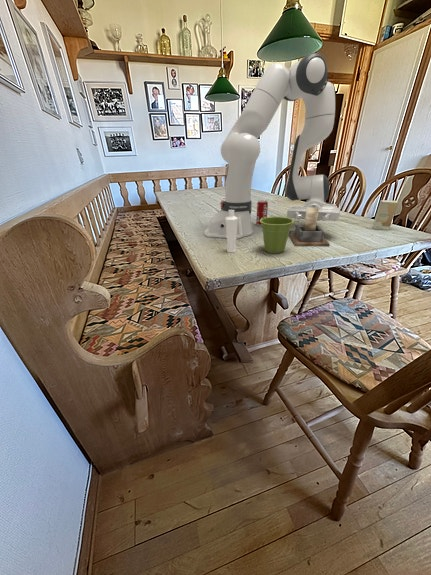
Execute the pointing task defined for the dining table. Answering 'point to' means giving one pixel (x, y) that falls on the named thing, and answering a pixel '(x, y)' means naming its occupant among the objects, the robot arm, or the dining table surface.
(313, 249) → the dining table surface
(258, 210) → the soda can
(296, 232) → the bottle holder
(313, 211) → the birch peg
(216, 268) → the dining table surface
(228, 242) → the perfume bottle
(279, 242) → the plant pot
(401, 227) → the dining table surface
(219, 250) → the dining table surface
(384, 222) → the skincare box
